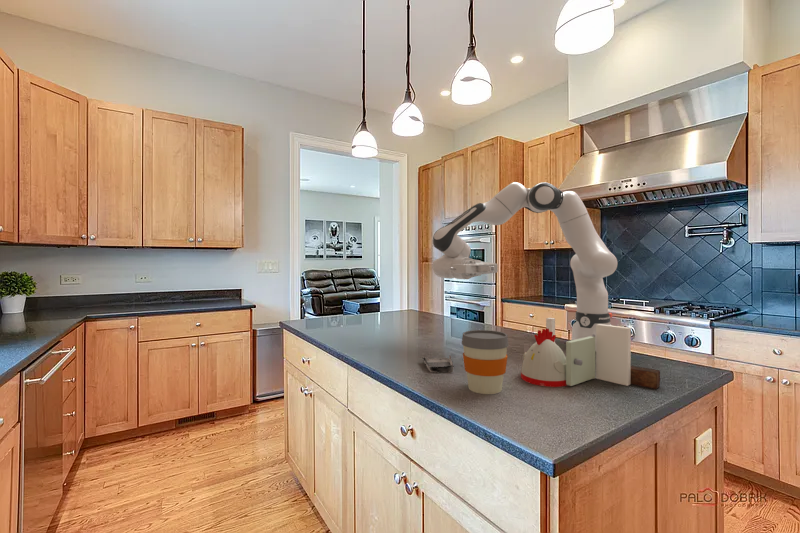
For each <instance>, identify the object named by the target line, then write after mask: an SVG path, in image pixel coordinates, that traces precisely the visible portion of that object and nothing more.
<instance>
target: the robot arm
mask: <svg viewBox="0 0 800 533" xmlns="http://www.w3.org/2000/svg"><path fill="white" fill-rule="evenodd" d="M523 208H525V209H527V210H528V211H530V212H531V213H535V214H542V213H545V212H548V211H551V212H553V214H554V216H555V217H556V218H557V221H558V224H559V227H560V229H561V231H562V234H563V236H564V238H565V241H566V242H567V244H568V245H569V246H570V247H571V249H572V250H573V251H574V253H575V254H574V255H573V256H572V257H571V258H570V263H569V264H570V268H571V270H572V274H573V279H574V284H575V291H576V311H575V314H574V315H575V322H574V323H573V324H572V330H571V340H576V339H580V338H585V337H589V336H592V335H593V334H594V335H595V352H596V325H597V324H604V325H612V324H611V318H613V314H612V312H609V292H608V290H607V289H606V285H605V282H604V279H603V278H607V277H609V276H611V275H613V274H614V273H615V272H616V270H617V269H618V259H617V257H616V256H615V254H613V253H612V252H611V250H610V249H609V248H608V246H606V244H605V242H604V241H603V240H602V238H601V237H600V236H599V234H598V232H597V230H596V228H595V225H594V224H593V222H592V219H591V216H590V215H589V212H588V210H587V207H586V206H585V204H584V202H583V201H582V199H581V197H580V196H579V195H578V193H577V192H575V191H572V190H566V191H562V190H561V189H559V188H557V187H556V186H555V185H554V184H551V183H549V182H539V183H537V184H535V185H534V186H532V187H531V188H527V187H526V186H524V185H523V184H522V183H520V182H517V181H514V182H511V183H509V184H508V185H506V186H505V187H504V188H502V189H500V191H499V192H498V193H497V194H495V195H494V196H493V197H492V198H491V199H489V200H488V201H486V202H479V203H476V204H474V205H472V206H471V207H470V208H468V209H467V210H466V211H464V212H463V213H461V214H460V215H459V216H457V217H455V218H454V219H453V220H452V221H450V222H449V223H448V224H446V225H444V226H442V227H440V228H438V229H437V230H436V231H435V232H434V234H433V236H432V243H433V244H432V245H433V247H434V248H435V249H437V250H438V251H439V252H441V253H442V254H443V255H442V256H441V257H438V258H436V259H435V260H433V262H432V263H431V267H432V271H433V273H434V275H435V276H437V277H439V278H443V279H448V280H449V279H456V280H469V279H472V278H474V277H480V276H482V275H487V274H496V273H498V270H499V269H498V268H499V266H498V263H496V262H491V261H490V262H489V261H488V262H487V261H481V259H480V260H479V259H473V258H470V257H471V255H472V254H471V253H472V249H471V246H470V245H469V244H468V243H467V242H466V241H465V240H464V239H462V238H461V237H460V236H459V235H458V234H459V233H460V232H462V231H463V230H464V229H466V228H467V227H469V226H470V225H472V223H475V222H483V223H486V224H488V225H492V226H500V225H503V224H506V222H509V220H510V219H511V218H512V217H513V216H514V215H516V213H518V212H519V211H520V210H521V209H523Z"/></svg>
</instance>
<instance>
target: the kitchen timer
mask: <svg viewBox="0 0 800 533" xmlns="http://www.w3.org/2000/svg"><path fill="white" fill-rule="evenodd" d="M552 334H553V332H549V329H547V328H546V327H545V328H542V330H541V329H540V330H539V329H538V330H537V335H536V334H534V335H533V336H534V339H535V342H534V343H533V344H531V346H530V347H529V348H528V349H527V351H525V352H524V353H523V355H522V359H523V361H522V364H521V369H520V378H521V379H522V380H523V381H525V382H526V383H529V384H532V385H534V386H535V385H536V386H541V387H548V388H549V387H550V388H557V387H559V388H560V387H561V388H562V387H567V386H568V385H566V353H564V351H563V349H562V348H561V347H560V346H559V345H558V344H557V343H556V337H557V335H556V334H555V335H553V336H552ZM554 341H555V343H554Z"/></svg>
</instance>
